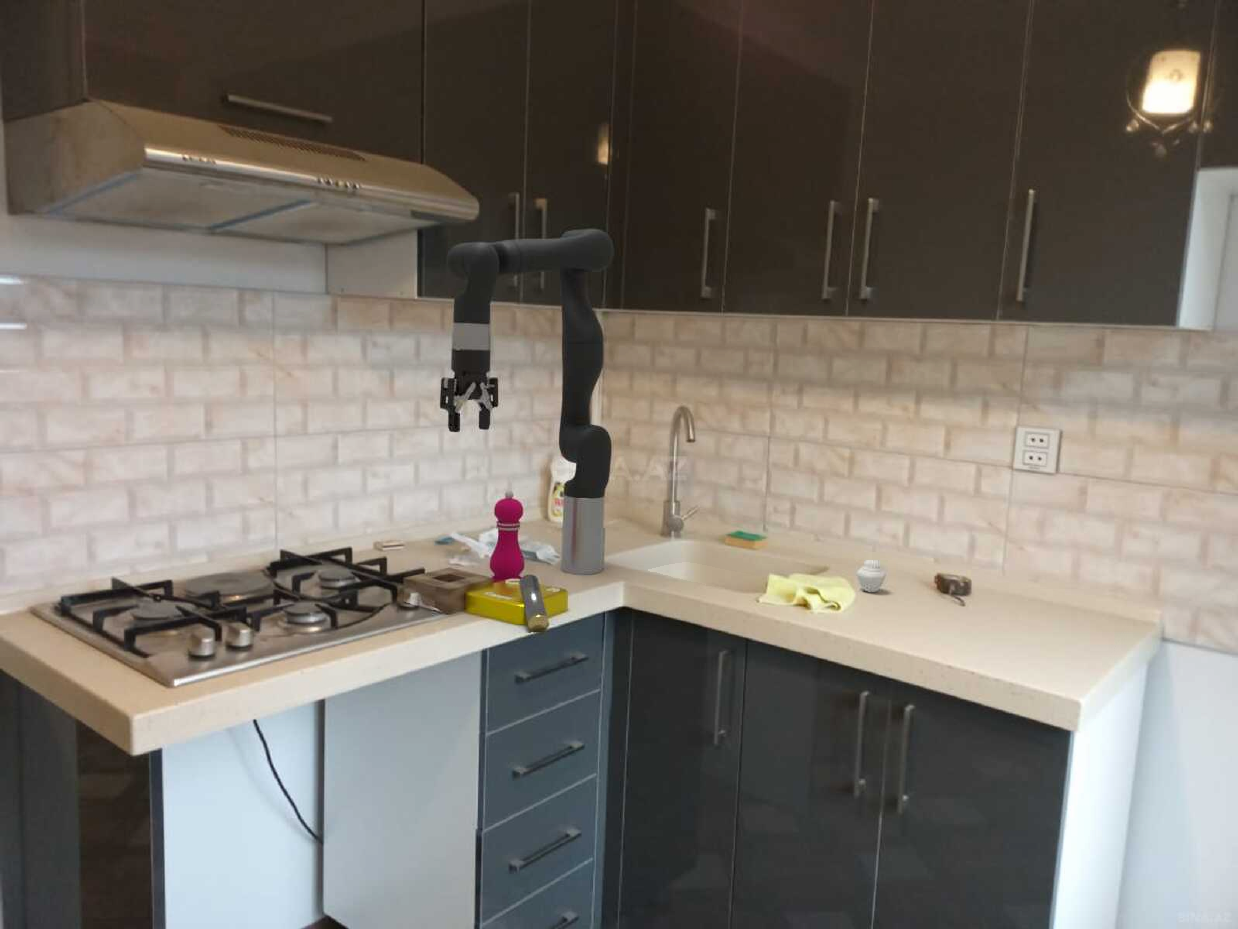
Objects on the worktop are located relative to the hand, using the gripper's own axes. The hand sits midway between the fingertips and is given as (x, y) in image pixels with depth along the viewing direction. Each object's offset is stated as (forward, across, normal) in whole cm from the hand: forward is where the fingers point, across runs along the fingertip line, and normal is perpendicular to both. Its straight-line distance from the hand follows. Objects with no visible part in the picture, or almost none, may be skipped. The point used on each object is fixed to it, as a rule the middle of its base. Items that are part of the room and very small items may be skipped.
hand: (469, 430), depth 185 cm
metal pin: (+26, +4, +19) cm, 33 cm away
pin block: (+33, +8, +2) cm, 34 cm away
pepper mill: (+33, -10, +2) cm, 35 cm away
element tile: (+34, +3, +16) cm, 37 cm away
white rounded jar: (+33, -61, +63) cm, 94 cm away
